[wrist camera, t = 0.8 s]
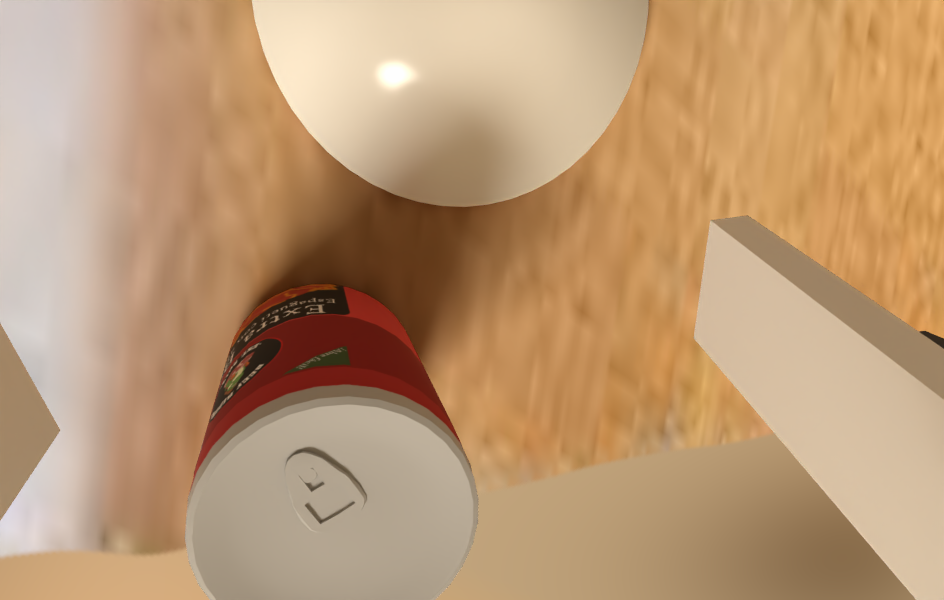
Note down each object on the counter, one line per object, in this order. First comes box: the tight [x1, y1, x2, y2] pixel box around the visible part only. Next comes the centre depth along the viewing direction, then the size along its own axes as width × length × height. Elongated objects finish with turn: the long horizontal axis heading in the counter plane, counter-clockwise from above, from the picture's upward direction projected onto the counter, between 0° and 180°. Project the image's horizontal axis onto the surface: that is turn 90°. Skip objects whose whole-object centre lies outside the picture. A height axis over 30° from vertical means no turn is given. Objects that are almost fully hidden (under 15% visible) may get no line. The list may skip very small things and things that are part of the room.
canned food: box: [185, 284, 478, 600], centre depth 21 cm, size 8×8×11 cm
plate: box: [252, 0, 649, 207], centre depth 22 cm, size 15×15×1 cm
